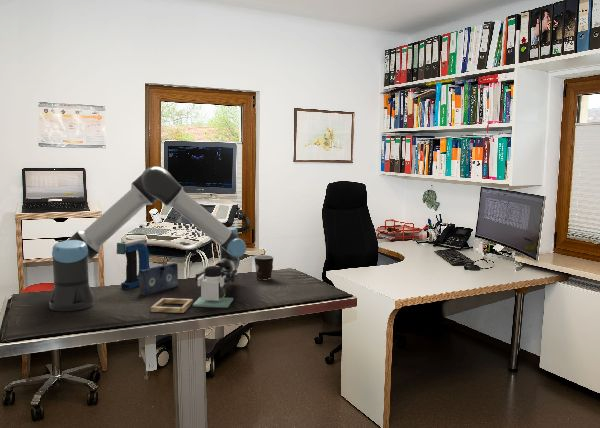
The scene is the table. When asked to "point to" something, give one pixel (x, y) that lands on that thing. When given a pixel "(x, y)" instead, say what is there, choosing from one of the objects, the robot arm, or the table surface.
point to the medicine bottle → (212, 284)
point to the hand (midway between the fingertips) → (209, 282)
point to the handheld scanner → (134, 260)
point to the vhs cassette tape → (158, 278)
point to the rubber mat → (213, 303)
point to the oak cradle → (182, 309)
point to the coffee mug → (263, 266)
